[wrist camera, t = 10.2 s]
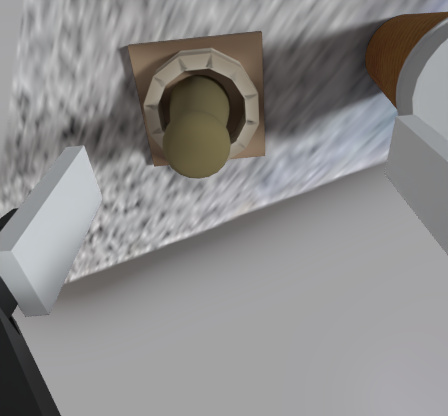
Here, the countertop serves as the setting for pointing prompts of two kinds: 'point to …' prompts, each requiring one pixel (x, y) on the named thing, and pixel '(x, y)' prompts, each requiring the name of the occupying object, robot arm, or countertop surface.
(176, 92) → the olive knobbed peg
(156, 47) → the collar base
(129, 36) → the countertop surface
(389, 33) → the disposable coffee cup
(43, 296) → the robot arm
